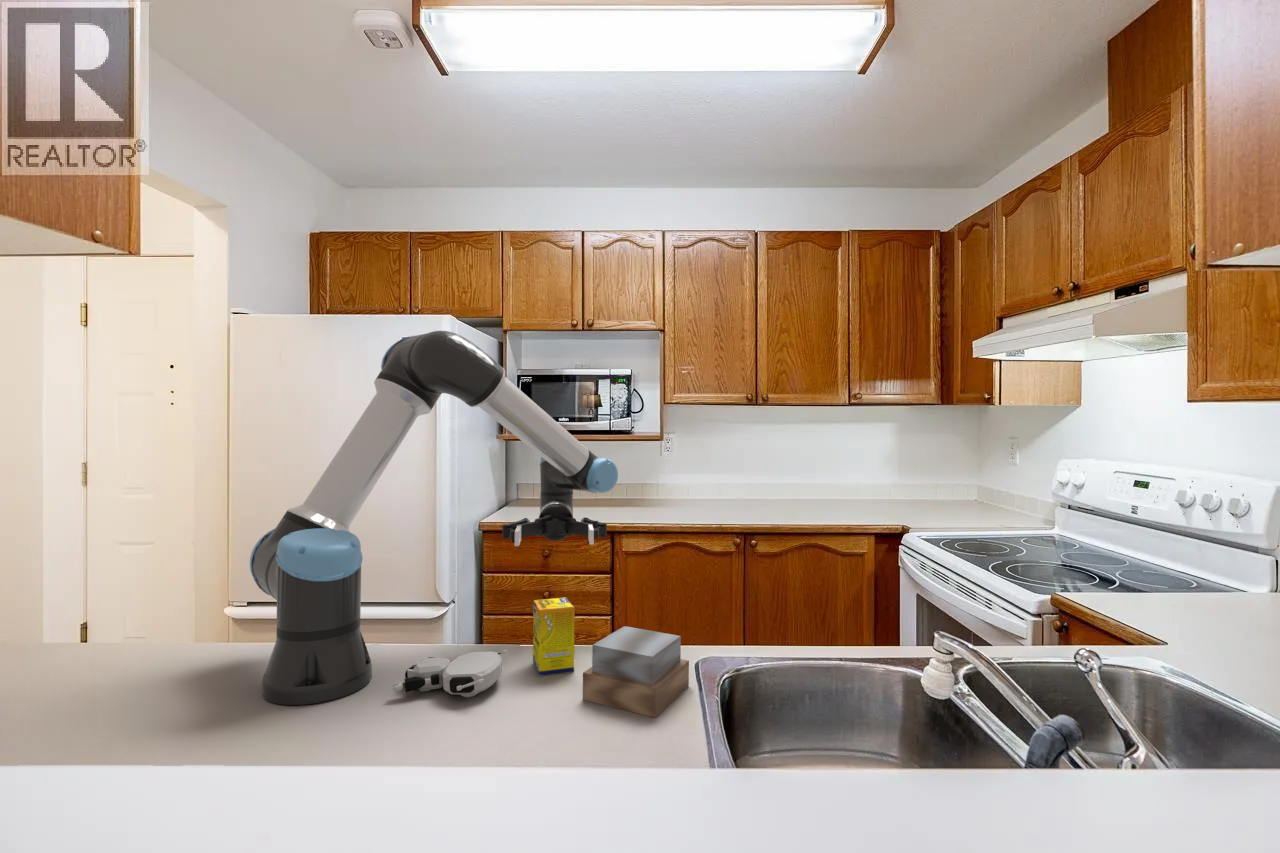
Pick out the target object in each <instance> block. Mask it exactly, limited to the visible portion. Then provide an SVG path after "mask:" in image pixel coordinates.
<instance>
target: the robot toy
mask: <svg viewBox="0 0 1280 853" xmlns="http://www.w3.org/2000/svg"><path fill="white" fill-rule="evenodd" d="M507 652H508V649H504V650H502V651H499V652H495V651H493V650H492V651H471V652H468V653H464V654H461V655H460V656H458V657H457V658H455V659H453V660H452V661H450V660H449V659H448V658H446V657H433V656H429V657H427V658H425V659H422V660H420V661H418V662H416V663H414V664H411V667H410V666H409V667H408V668H407V669H406V671H405V673H404V676H405V677H404V679H403V680H404V682H396V683H393V684H392V691H393V692H401V691H402V690H404V693H410V692H416V691H420V692H430V691H431V690H437V689H441V688H443V690H444V691H445V692H447V693H449V694H450V695H459V696H461V697H464V698H472V697H475V696H476V695H477V694H478V695H479V693H480V692H483V691H485V690H488V689H489V688H491V686H493V685H494V684H495V683H496V682H497V681H498V680H499V679H500V678H501V675H502V674H503V662H502V661H503V660H502V656H501V654H505V653H507Z"/></svg>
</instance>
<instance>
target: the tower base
mask: <svg viewBox="0 0 1280 853" xmlns="http://www.w3.org/2000/svg"><path fill="white" fill-rule="evenodd" d="M681 639H682V638H681V635H676V634H671V633H666V632H665V633H664V632H660V631H654V630H650V629H649V630H648V629H643V628H636V627H631V626H625V625H624V626H622V627H621V628H619V629H617V630H616V631H613V632H612V633H610V634H608V635H607V636H605V637H603V638H602V639H600V640H598V641H595V643H593V644H592V650H591V652H592V654H591V656H592V657H591V662H592V663H591V664H592V666H591V667H589V668H587V669H586V670H585V671H583V672H582V700H583V701H587V702H590V703H595V704H599V705H602V706H608V707H611V708H615V709H619V710H623V711H627V712H631V713H635V714H638V715H644V716H647V717H651V718H652V717H653V718H657V717H658V716H659V715H660V714H661V713H662V712H663V711H664V710H665V709H667V707H668V706H669V705H671V703H673V702H674V701H675V700H676V699H677V698H678V697H679V696H680V695H681V694H682V693H684V691H685V690H686V689H687V688H688V687H689V686H690V685H689V684H690V683H689V682H690V681H689V679H690V677H689V676H690V661H689V660H687V659H683V658H681V657H682V655H681V650H682V649H681V645H682V644H681V642H682V640H681Z"/></svg>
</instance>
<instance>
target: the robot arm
mask: <svg viewBox="0 0 1280 853" xmlns="http://www.w3.org/2000/svg"><path fill="white" fill-rule="evenodd" d="M380 369H381V370H380V372H379V373H378V375H377V377H376V378H375V380H374V383H373V384H374V387H375V391H376V392H375V395H374V396H373V398H372V399H371V401H370V402H369V404H368V406H366V408H365V410H364V411H363V412H362V414H361V416H360V417H359V419H358V420H357V422H356V423H355V425H354V426H353V428H352V429H351V431H350V432H349V434H348V436H347V437H346V439H345V440H344V442H343V443H342V444H341V446H340V447H339V449H338V451H337V452H336V454H335V455H334V457H333V458H332V460H331V461H330V462H329V464H328V466H327V467H326V469H325V470H324V471H323V473H322V474H321V476H320V478H319V479H318V481H317V482H316V484H315V485H314V487H313V488H312V490H311V491H310V492H309V494H308V496H307V497H306V499H305V500H304V502H303V503H302V504H301V505H298V506H295V507H291V508H288V509H287V510H286V511H285V513H284V514H283V516H282V518H281V519H280V521H278V524H277V525H276V527H275V528H273V529H271V530H269V531H267V532H266V533H265V534H264V535H262V537H260V538H259V539H258V541H257V542H256V544H255V545H254V546H253V548H252V550H251V554H250V557H249V571H250V573H251V576H252V578H253V581H254V582H255V584H256V585H257V587H258V589H260V590H261V591H262V592H263V593H265V594H266V595H268V596H271V597H272V598H273V599H275V600H276V634H275V635H276V636H275V637H276V640H275V643H274V646H273V649H272V652H271V654H270V657H269V660H268V664H267V666H266V670H265V673H264V674H263V677H262V682H261V683H262V684H261V685H262V687H261V688H262V690H261V693H262V695H261V696H262V697H263V698H264V700H265V701H267V702H269V703H273V704H278V705H286V706H292V705H293V706H301V705H312V704H317V703H318V704H319V703H323V702H328V701H332V700H337V699H340V698H343V697H345V696H348V695H351V694H353V693H355V692H357V691H359V690H361V689H363V688H365V687H366V685H367V684H369V683H370V681H371V680H372V677H373V676H372V674H373V663H372V662H373V661H372V660H371V657H370V653H369V651H368V648H367V645H366V642H365V638H364V637H363V633H362V631H361V613H362V612H361V607H362V606H361V604H362V603H361V602H362V601H361V600H362V598H361V597H362V596H361V594H362V563H363V553H362V547H361V546H362V545H361V541H360V539H359V537H358V536H357V535H356V534H354V533H352V532H350V526H351V524H352V522H353V521H354V519H355V517H357V514H358V512H360V510H361V508H362V506H363V505H364V503H365V502H366V501H367V499H368V497H369V495H370V493H371V492H372V491H373V489H374V487H375V486H376V484H377V482H378V481H379V479H380V478H381V476H382V475H383V472H384V471H385V469H386V468H387V466H388V464H389V463H390V461H392V459H393V456H394V455H395V454H396V452H397V450H398V448H399V447H400V446H401V444H402V442H403V441H404V439H405V438H406V436H407V434H408V432H409V431H410V430H411V428H412V427H413V425H414V423H415V421H416V420H417V418H418V417H419V416H424V415H428V414H429V413H431V411H432V410H433V408H434V406H435V404H436V403H437V402H438V400H439V398H440V397H441V395H442V394H447V395H449V396H453V397H456V398H457V399H459V400H461V401H462V402H463V403H465V404H466V405H468V406H469V407H470V408H477V407H478V408H480V409H481V410H482V411H484V412H485V413H486V414H487V415H489V416H490V417H491V418H493V419H494V421H496V422H497V423H498V424H500V425H501V426H502V427H504V428H505V429H506V430H508V431H509V432H510V433H511V434H513V435H514V436H515V437H516V438H517V439H519V440H520V441H521V442H523V444H524V445H526V446H528V447H529V448H530V449H531V450H532V451H534V452H535V454H538V456H540V463H539V472H540V473H539V474H540V496H539V499H540V501H539V506H540V507H539V515H538V518H535V520H534V521H531V520H530V519H529V518H528V517H524V518H522V519H520V520H517V521H514V522H509V523H507V524H502V531H501V532H502V534H501V536H502V539H504V540H505V539H510V540H511V541H510V542H511V543H513V544H514V547H519V546H520V544H521V541H522V538H526V537H532V536H539V537H542V536H543V537H544V538H546V539H547V540H550V541H554V542H555V541H562V540H564V539H565V538H567V537H568V536H576V535H578V536H583V537H584V536H585V537H587V539H588V542H589V545H590V546H593V545H595V540H594V539H599V538H600V537H602V538H606V537H607V536H608V534H607V532H608V525H607V523H604V522H602V521H601V522H600V521H599V520H593V519H590V518H589V517H585V516H584V517H582V518H581V519H580V521H578V520H577V519H576V518H575V517H574V507H573V506H574V505H573V504H574V501H573V500H574V498H573V497H574V496H573V495H574V491H579V492H581V491H582V492H587V493H588V492H589V493H592V494H597V493H598V494H601V493H602V494H604V493H606V494H607V493H609V492H610V491H612V489H613V488H615V485H617V482H618V478H619V471H618V467H617V465H616V463H615V462H614V461H613V460H612V459H609V458H607V457H603V456H600V457H599V456H597V455H595V454H594V452H592V451H591V450H590V449H589V448H587V447H586V446H585V445H584V444H582V442H580V441H579V440H578V438H576V437H574V436H573V435H572V434H571V433H570V432H569V431H568V430H566V428H564V427H563V426H562V425H561V424H560V423H559V422H558V421H556V420H555V419H554V418H553V417H552V416H551V415H550V414H549V413H548V412H546V411H545V410H544V409H543V408H542V407H540V406H539V405H538V404H537V403H536V402H534V400H532V399H531V398H530V397H529V396H528V395H527V394H526V393H524V392H523V391H522V390H521V389H520V388H519V387H518V386H516V384H514V383H513V382H512V381H511V380H510V379H508V378H507V377H506V371H505V368H504V367H503V366H502V365H500V364H499V363H498V362H497V361H496V360H495V359H494V358H493V357H492V356H490V355H489V354H488V353H486V352H485V351H484V350H483V349H481V347H479V346H478V345H477V344H475V343H474V342H473V341H470V340H469V339H467V338H466V337H464V336H462V335H460V334H458V333H455V332H453V331H449V330H447V331H446V330H433V331H429V332H426V333H423V334H418V335H410V336H406V337H404V338H403V337H402V339H399V340H397V341H396V342H395V343H393V344H392V345H391V346H390V347H389V348H388V349H387V350H386V352H385V353H384V355H383V358H382V359H381V365H380Z"/></svg>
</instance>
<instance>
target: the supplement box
mask: <svg viewBox="0 0 1280 853" xmlns="http://www.w3.org/2000/svg"><path fill="white" fill-rule="evenodd" d="M532 604H533V606H532V607H533V609H532V610H533V612H532V614H533V616H532V617H533V622H532V623H533V624H532V625H533V628H532V629H533V630H532V633H533V634H532V638H533V640H532V642H533V643H532V663H533V665H534V667H535V668H536V670H537V671H536V672H537V674H538V675H539V677H545V675H546V676H550V675H551V676H552V675H559V674H568V673H573V672H574V671H575V615H576V614H575V610H576V609H575V608H576V607H575V606H574V605H573V604H572V603H571V601H569V599H568V598H567V597H566V596H565V597H557V598H544V599H543V598H542V599H535V600H533V603H532Z"/></svg>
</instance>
